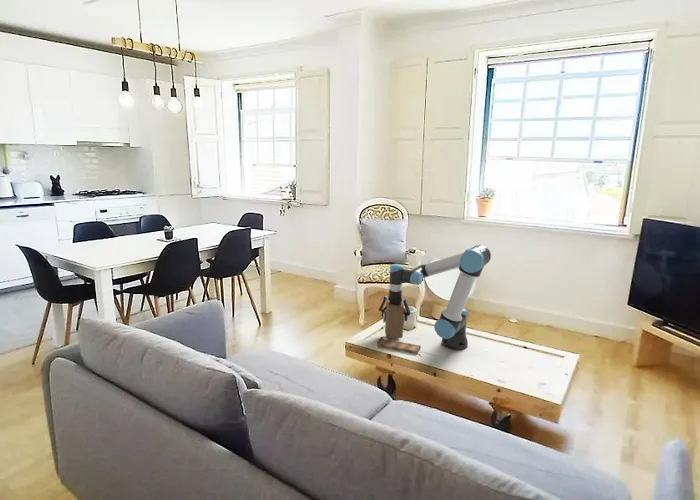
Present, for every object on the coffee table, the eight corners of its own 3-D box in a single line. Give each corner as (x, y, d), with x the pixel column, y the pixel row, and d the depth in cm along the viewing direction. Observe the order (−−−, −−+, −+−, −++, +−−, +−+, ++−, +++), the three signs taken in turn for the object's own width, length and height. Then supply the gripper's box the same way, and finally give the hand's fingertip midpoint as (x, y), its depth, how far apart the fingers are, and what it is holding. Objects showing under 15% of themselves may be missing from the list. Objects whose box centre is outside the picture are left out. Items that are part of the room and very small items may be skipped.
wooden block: (402, 338, 264) (404, 307, 259) (385, 338, 264) (387, 306, 260) (401, 331, 274) (402, 301, 269) (384, 331, 274) (386, 301, 269)
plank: (420, 348, 256) (420, 344, 255) (417, 354, 249) (417, 349, 248) (381, 341, 265) (381, 336, 264) (376, 346, 258) (377, 342, 257)
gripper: (417, 290, 261) (415, 324, 266) (378, 285, 270) (377, 318, 275) (413, 294, 254) (411, 329, 259) (374, 288, 263) (373, 322, 268)
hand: (394, 323), depth 267 cm, fingers closed on wooden block, 12 cm apart
